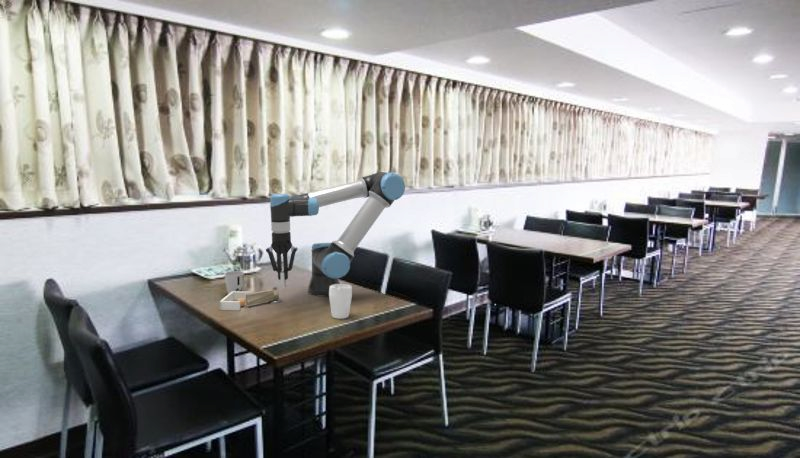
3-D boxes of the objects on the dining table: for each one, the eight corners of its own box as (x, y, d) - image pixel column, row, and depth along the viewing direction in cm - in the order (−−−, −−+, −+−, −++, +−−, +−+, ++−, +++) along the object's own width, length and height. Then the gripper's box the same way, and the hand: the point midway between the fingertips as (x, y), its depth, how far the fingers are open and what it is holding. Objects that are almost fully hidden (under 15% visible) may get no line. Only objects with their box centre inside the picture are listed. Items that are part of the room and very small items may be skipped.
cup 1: (238, 298, 202) (237, 275, 201) (221, 296, 204) (220, 274, 202) (247, 293, 210) (247, 271, 209) (231, 291, 212) (230, 270, 210)
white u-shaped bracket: (250, 299, 201) (250, 291, 200) (239, 310, 186) (239, 302, 185) (232, 299, 200) (231, 291, 200) (219, 310, 186) (219, 301, 185)
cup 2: (340, 310, 189) (341, 282, 187) (356, 316, 183) (356, 286, 181) (324, 316, 182) (324, 286, 180) (339, 321, 176) (340, 291, 174)
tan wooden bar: (280, 299, 199) (280, 287, 199) (249, 306, 189) (248, 294, 188) (276, 297, 201) (276, 286, 201) (245, 304, 191) (245, 292, 190)
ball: (237, 306, 192) (245, 303, 193) (238, 308, 189) (247, 305, 190) (234, 299, 191) (243, 296, 193) (235, 300, 188) (244, 297, 190)
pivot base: (283, 299, 203) (283, 298, 202) (280, 303, 197) (280, 302, 197) (270, 298, 202) (270, 297, 202) (266, 302, 196) (266, 302, 196)
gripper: (298, 230, 194) (300, 284, 198) (267, 230, 194) (270, 284, 197) (295, 233, 187) (297, 289, 190) (262, 233, 186) (265, 289, 190)
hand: (283, 286), depth 194 cm, fingers closed
